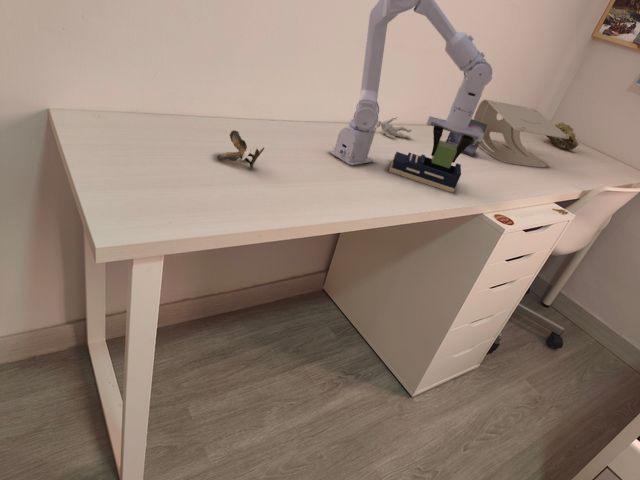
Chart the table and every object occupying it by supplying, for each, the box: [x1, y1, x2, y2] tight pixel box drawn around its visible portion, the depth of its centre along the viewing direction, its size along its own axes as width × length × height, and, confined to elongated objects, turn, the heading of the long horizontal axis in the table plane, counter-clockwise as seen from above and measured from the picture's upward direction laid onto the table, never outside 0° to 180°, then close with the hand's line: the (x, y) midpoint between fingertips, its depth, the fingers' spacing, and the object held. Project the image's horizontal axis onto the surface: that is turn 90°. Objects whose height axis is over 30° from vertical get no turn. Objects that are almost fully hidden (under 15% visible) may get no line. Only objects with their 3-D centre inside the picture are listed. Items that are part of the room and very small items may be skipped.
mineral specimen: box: [545, 121, 580, 150], centre depth 197 cm, size 14×13×10 cm
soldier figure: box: [376, 116, 412, 139], centre depth 150 cm, size 8×5×12 cm
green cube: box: [431, 140, 457, 169], centre depth 120 cm, size 5×5×5 cm
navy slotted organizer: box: [388, 151, 462, 194], centre depth 123 cm, size 18×8×6 cm, turn 75°
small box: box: [445, 118, 487, 158], centre depth 153 cm, size 11×6×10 cm, turn 68°
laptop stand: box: [472, 99, 570, 168], centre depth 164 cm, size 26×24×16 cm
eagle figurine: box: [216, 129, 265, 170], centre depth 101 cm, size 8×7×9 cm
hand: (442, 158), depth 120 cm, fingers closed on green cube, 5 cm apart
